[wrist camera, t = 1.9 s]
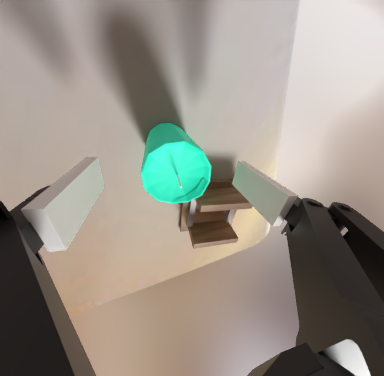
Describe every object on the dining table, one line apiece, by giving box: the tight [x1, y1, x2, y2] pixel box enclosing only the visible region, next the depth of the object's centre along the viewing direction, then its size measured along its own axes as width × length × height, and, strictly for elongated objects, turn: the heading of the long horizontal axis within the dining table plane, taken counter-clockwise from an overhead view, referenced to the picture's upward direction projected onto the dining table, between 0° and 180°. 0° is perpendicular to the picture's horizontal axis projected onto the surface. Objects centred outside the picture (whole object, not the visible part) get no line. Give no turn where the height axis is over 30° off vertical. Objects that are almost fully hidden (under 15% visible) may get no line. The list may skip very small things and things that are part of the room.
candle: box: [141, 123, 211, 204], centre depth 15 cm, size 6×6×12 cm
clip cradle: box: [180, 180, 253, 248], centre depth 26 cm, size 12×12×6 cm
